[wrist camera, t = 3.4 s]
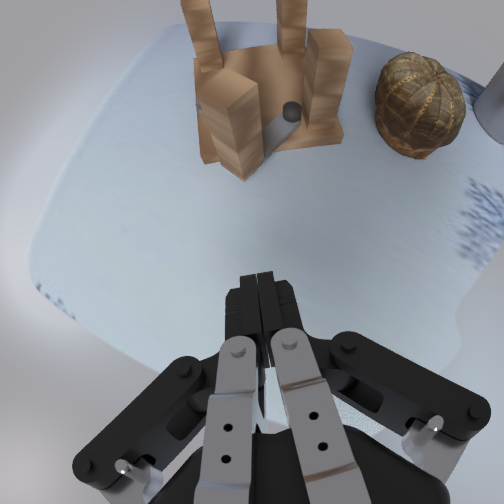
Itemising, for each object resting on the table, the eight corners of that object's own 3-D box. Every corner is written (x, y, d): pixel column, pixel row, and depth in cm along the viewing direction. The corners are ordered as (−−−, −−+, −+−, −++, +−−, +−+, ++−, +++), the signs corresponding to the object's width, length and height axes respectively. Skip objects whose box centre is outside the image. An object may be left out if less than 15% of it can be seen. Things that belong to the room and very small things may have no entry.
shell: (346, 109, 32) (366, 39, 20) (407, 97, 32) (436, 39, 20) (390, 180, 30) (435, 119, 18) (450, 159, 30) (496, 109, 18)
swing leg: (286, 108, 30) (288, 27, 18) (307, 121, 29) (318, 40, 18) (223, 169, 29) (195, 91, 17) (245, 185, 28) (226, 108, 17)
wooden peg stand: (302, 52, 35) (306, -23, 21) (340, 143, 31) (369, 55, 17) (196, 67, 36) (173, -6, 22) (204, 164, 32) (165, 78, 18)
